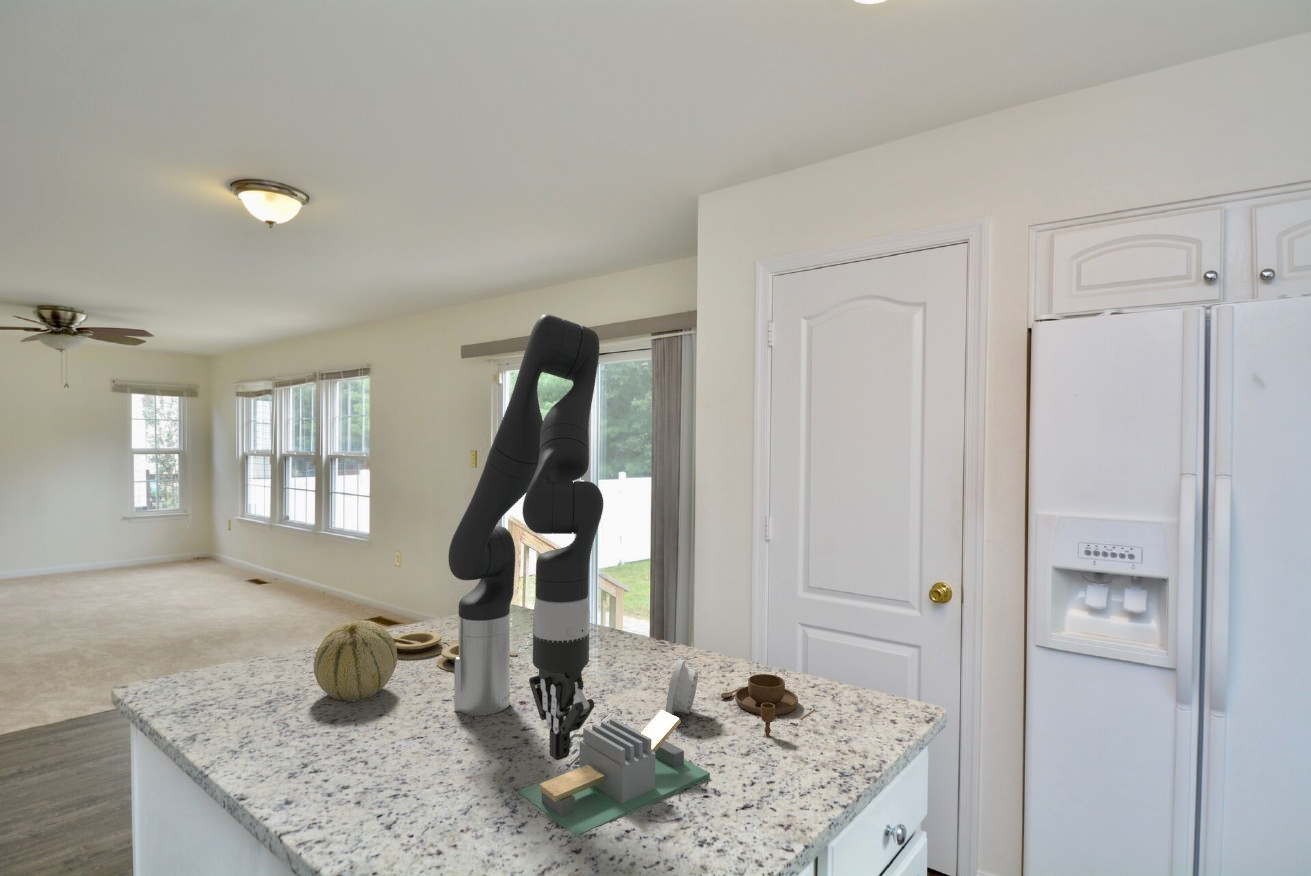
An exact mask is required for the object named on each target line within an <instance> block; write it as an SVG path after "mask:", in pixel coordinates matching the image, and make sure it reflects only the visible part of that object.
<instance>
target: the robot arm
mask: <svg viewBox="0 0 1311 876" xmlns="http://www.w3.org/2000/svg"><path fill="white" fill-rule="evenodd" d="M599 358H600V339H599V335H598V334H597V333H596V331H595V330H593V329H591V328H590V327H587V326H585V325H582V324H578V323H577V322H573V321H571V320H567V319H565V318H561V317H558V316H555V315H552V314H548V313H547V314H542V315H541V316H540V317H538V319H537V320H536V322H535V324H534V325H533V328H532V330H531V332H530V334H529V338H528V341H527V344H526V347H525V350H524V354H523V357H522V360H521V364H520V367H519V371H518V373H517V376H516V381H515V383H514V386H513V391H512V393H511V397H510V399H509V402H508V404H507V407H506V410H505V412H504V413H503V414H504V415H503V416H502V419H501V422H500V424H499V427H498V430H497V432H496V434H495V437H494V438H493V441H492V443H491V446H490V450H489V452H488V455H487V458H486V460H485V464H484V467H483V470H482V472H481V476H480V478H479V480H478V482H477V485H476V488H475V491H474V493H473V495H472V497H471V500H470V502H469V504H468V506H467V508H466V510H465V512H464V514H463V516H462V518H461V520H460V521H459V524H458V526H457V527H456V530H455V532H454V534H453V536H452V539H451V541H450V544H449V550H448V557H447V558H448V567H449V569H450V572H451V574H452V575H453V577H455V578H456V579H458V580H461V581H474V580H476V581H477V580H479V582H478V583H477V585H476V586H475V587H474V588H473V589H472V590H471V591H470V592H468V593H467V594H465V595H464V596H463V597H462V598H460V600H459V602H458V642H459V656H458V657H457V658H456V659H455V665H454V666H455V672H454V701H453V702H454V705H453V706H454V707H453V708H454V709H453V710H454V711H455V712H459V713H463V714H464V715H469V716H489V715H490V716H491V715H494V714H498V713H500V712H503V711H504V710H506V709H507V708H508V707H510V706H509V705H510V695H511V693H510V685H511V684H510V676H511V675H510V673H511V671H510V670H511V669H510V668H511V666H510V664H511V663H510V662H511V661H510V660H511V658H510V657H511V656H510V652H511V650H510V648H511V647H510V646H511V642H510V641H511V640H510V639H511V638H510V637H511V633H510V631H511V630H510V629H511V628H510V626H511V623H510V622H511V619H510V618H511V614H510V613H511V604H512V601H513V598H514V592H515V589H514V588H515V573H516V571H515V570H516V546H515V542H514V541H515V540H514V538H513V535H512V534H511V532H510V530H508V529H507V528H506V527H504V526H501V525H497V524H498V523H499V522H500V520H501V519H502V518H503V517H504V516H505V514H506V513H508V511H509V510H511V508H513V507H514V505H516V503H518V502H519V501H520V499H522V498H523V497H524V499H523V503H522V517H523V521H524V524H525V525H526V526H527V528H528V529H529V530H531V532H533V533H536V534H539V535H552V534H553V535H556V534H558V535H559V534H560V535H562V534H563V535H565V534H567V535H572V534H574V535H575V538H574V540H573V541H572V542H571V543H570V544H569V545H566V546H564V547H560V548H556V549H552V550H547V551H545V552H542V553H541V554H539V556H538V557H537V559H536V564H535V599H534V605H533V606H534V608H533V615H532V616H533V617H532V621H533V622H532V664H533V666H534V667H535V668H536V669H537V670H538V674H537V675H535V676H532V677H529V680H528V681H529V687H530V689H531V692H532V696H533V699H534V702H535V705H536V709H537V712H538V716H539V718H540V720H541V721H546V722H545V724H546V728H547V729H548V730H549V745H548V746H549V756H550V757H551V758H552V759H554V760H555V761H560V760H563V759H566V758H568V757H569V756H570V755H569V752H571V751H570V748H571V746H570V745H571V738H570V732H572V731H575V730H577V729H579V730H581V728H582V727H583V726H584V724H585V723H586V722H585V720H586V719H587V717H588V716H589V717H590V715H591V714H590V712H591V713H592V711H593V710H594V708H595V702H594V699H592V698H589V699H587V698H586V696H585V694H584V692H583V689H584V681H583V676H582V672H583V670H584V668H585V667H586V666H587V665H588V663H589V662H590V661H589V660H590V620H591V619H590V617H591V616H590V615H591V611H590V604H589V577H590V576H589V572H590V560H591V555H592V549H593V545H594V542H595V538H596V535H597V534H596V533H597V531H598V529H599V525H600V523H601V520H602V519H601V518H602V515H603V511H604V498H603V494H602V492H601V490H600V488H599V487H598V486H597V485H596V484H595V483H594V482H592V481H587V480H585V481H583V480H581V481H580V480H579V479H581V478H582V477H584V475H585V474H586V473H587V471H588V469H589V465H590V437H589V436H590V435H589V434H590V433H589V427H590V417H591V409H592V404H593V403H592V402H593V397H594V392H595V386H596V380H597V379H596V378H597V372H598V367H599V366H598V365H599ZM542 373H544V374H547V375H551V376H554V377H558V378H561V379H563V380H568V381H571V382H572V386H571V388H570V390H568V392H566V394H564V396H562V398H560V399H559V400H558V401H557V402H556V403H555V404H553V406H552V407H550V409H549V410H548V411H547V413H546V415H545V417H544V419H543V416H542V412H541V409H540V408H541V407H540V403H539V402H540V401H539V395H538V394H539V393H538V392H539V391H538V387H539V380H540V377H541V375H542ZM589 714H590V715H589ZM589 717H588V718H589ZM587 720H588V719H587ZM587 720H586V721H587ZM584 722H585V723H584ZM583 723H584V724H583ZM582 725H583V726H582ZM581 726H582V727H581ZM568 755H569V756H568Z"/></svg>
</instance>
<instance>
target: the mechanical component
mask: <svg viewBox="0 0 1311 876" xmlns="http://www.w3.org/2000/svg"><path fill="white" fill-rule="evenodd" d="M685 665H686V661H685V660H684V659H681V658H678V659H677V660H676V663H675V666H674V668H673V672H672V675H671V679H670V681H669V686H668V690H667V695H666V704H665V712H667V713H669V714H671V715H673V716H675V715H674V714H675V713H676V712H679V713H683V714H690V712H691V709H692V708H693V707H692V706H693V704H694V701H695V697H696V691H697V686H698V680H699V672H698V671H697V670H696V669H695V670H694V669H692V668H688V667H686V666H685Z"/></svg>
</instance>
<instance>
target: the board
mask: <svg viewBox="0 0 1311 876" xmlns="http://www.w3.org/2000/svg"><path fill="white" fill-rule="evenodd" d="M608 721H609V722H608ZM608 721H607V722H605V721H603V722H601V721H600V722H601V727H600V726H598V724H596V723H595V724H592V725H591V728H590V727H588V726H587V727H586V726H585V727H584V728H583V729H582V731H583V732H582V733H583V735H582V737H583V740H582V741H580V746H579V749H580V755H579V756H578V757H579V759H578V762H579V764H578V765H579V766H578V767H576V768H575V767H574V768H573V769H571V770H567V771H565V772H562V773H561V774H557V775H555V776H553V777H550V778H548V779H544V780H542V781H540V782H538V783H534V784H532V785H529V786H527V787H525V788H521V789H519V790H518V791H517V793H519V794H520V795H521V796H523V798H525V799H527V800H528V801H529V802H530V803H531V804H532V805H534V806H535V807H537V808H538V809H540V810H541V812H543V813H545V814H546V815H547V816H549V817H550V818H551V819H552V820H553V821H555V822H556V823H558V825H560V826H561V827H563V828H564V829H565V830H567V831H568V832H569V833H571V834H572V835H573V836H574V837H578V836H579V835H581V834H584V833H586V832H589V831H591V830H593V829H596V828H598V827H601V826H602V825H605V824H607V823H610V822H612V821H613V820H614V821H615V820H616V819H619V818H620V817H623V816H626V815H628V814H630V813H633V812H635V811H637V810H639V809H641V808H645V807H646V806H648V805H651V804H654V803H655V802H658V801H660V800H662V799H664V798H665V799H666V798H667V797H669V796H671V795H674V794H676V793H679V792H681V791H683V790H685V789H688V788H690V787H693V786H695V785H697V784H700V783H702V782H704V781H707V780H709V779H711V773H710V772H709V771H707V770H705V769H703V768H702V767H699V766H698V765H696V764H695V763H692V762H690V761H688V760H687V759H685V750H684V749H681V748H680V747H678V746H676V745H674V744H672V743H670V742H668V741H667V740H665V741H664V743H663V744H662V745H661V746H660V747H659V748H658V750H657V751H656V752H655V753H654V752H652V739H651V738H649V737H647V736H646V735H644V734H642V733H641V732H640V731H638V730H636V729H634V728H633V727H630V726H629V725H627V724H623V723H621V722H622V721H619V720H617V719H616V718H614V717H613V718H611V717H610V719H609V720H608ZM586 765H589V766H591V767H592V768H594V769H595V770H597V771H598V772H600V773H601V774H603V775H605V781H604V782H602V783H599V784H597V785H595V786H592V787H590V788H588V789H585V790H583V791H581V792H578V793H576V794H574V795H571V796H569V797H567V798H564V799H562V800H560V801H557V802H555V801H553V800H552V799H551V798H549V797H548V796H547V795H545V794H544V793H543V792H541V791H540V790H539V784H541V783H543V782H546V781H548V780H551V779H553V778H556V777H558V776H561V775H563V774H566V773H568V772H571V771H573V770H576V769H578V768H581V767H583V766H586ZM708 778H709V779H708ZM706 779H707V780H706ZM703 780H704V781H703ZM699 782H700V783H699Z"/></svg>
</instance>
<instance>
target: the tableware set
mask: <svg viewBox="0 0 1311 876" xmlns="http://www.w3.org/2000/svg"><path fill="white" fill-rule="evenodd" d="M391 637H392V638H393V640H394V642H395V644H396V647H397V660H398V659H399V660H418V659H419V660H420V659H425V658H426V659H427V658H431V657H433V656H436V655H439V654H441V657H440V658H439V659H437V662H436V666H437V668H438V669H439V670H442V671H446V672H451V673H455V659H456V658H457V657H458V656H459V641H449V640H444V639H443V637H442V635H441V634H440V633H438V632H434V631H427V630H426V631H424V630H422V631H420V630H419V631H413V632H410V631H409V632H405V633H400V634H397V635H395V636H392V635H391ZM446 645H447V646H446ZM518 656H519V654H518V653H517V652H513V651H510V657H511V658H517V657H518Z"/></svg>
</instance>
